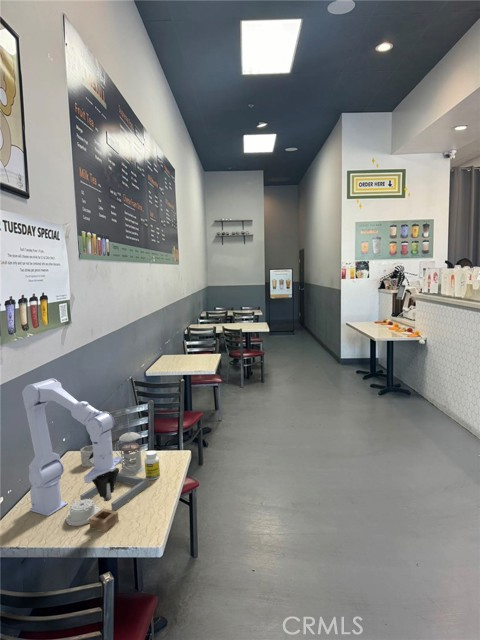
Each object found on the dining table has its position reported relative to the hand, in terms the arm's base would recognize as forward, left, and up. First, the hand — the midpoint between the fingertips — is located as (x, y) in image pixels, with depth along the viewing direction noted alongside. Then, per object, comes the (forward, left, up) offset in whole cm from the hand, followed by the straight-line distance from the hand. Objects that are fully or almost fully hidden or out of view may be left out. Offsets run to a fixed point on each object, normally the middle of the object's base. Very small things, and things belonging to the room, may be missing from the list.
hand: (106, 494), depth 125 cm
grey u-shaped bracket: (-10, +14, -9) cm, 19 cm away
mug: (-39, +31, -9) cm, 51 cm away
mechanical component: (-10, -1, -9) cm, 14 cm away
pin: (0, 0, -2) cm, 2 cm away
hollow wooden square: (0, -2, -9) cm, 9 cm away
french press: (-18, +31, -9) cm, 37 cm away
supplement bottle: (-5, +29, -9) cm, 31 cm away
